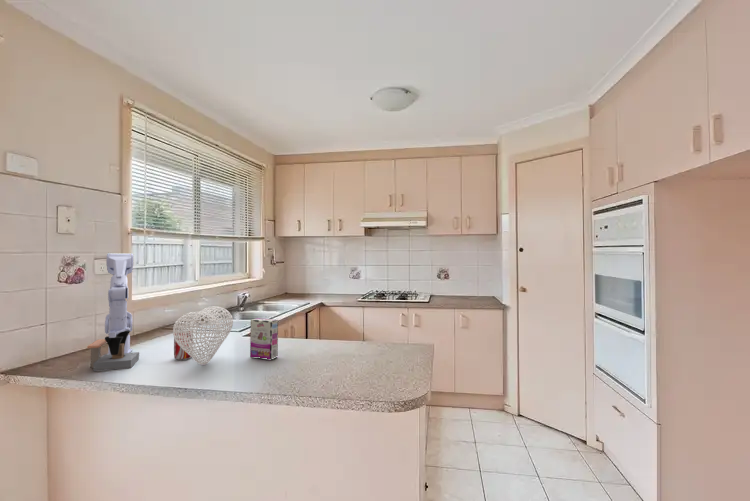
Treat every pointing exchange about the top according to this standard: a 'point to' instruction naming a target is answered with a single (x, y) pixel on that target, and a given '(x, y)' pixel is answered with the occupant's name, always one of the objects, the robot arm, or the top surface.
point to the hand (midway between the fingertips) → (117, 351)
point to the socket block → (110, 358)
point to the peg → (120, 353)
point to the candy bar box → (264, 338)
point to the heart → (217, 332)
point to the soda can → (178, 351)
